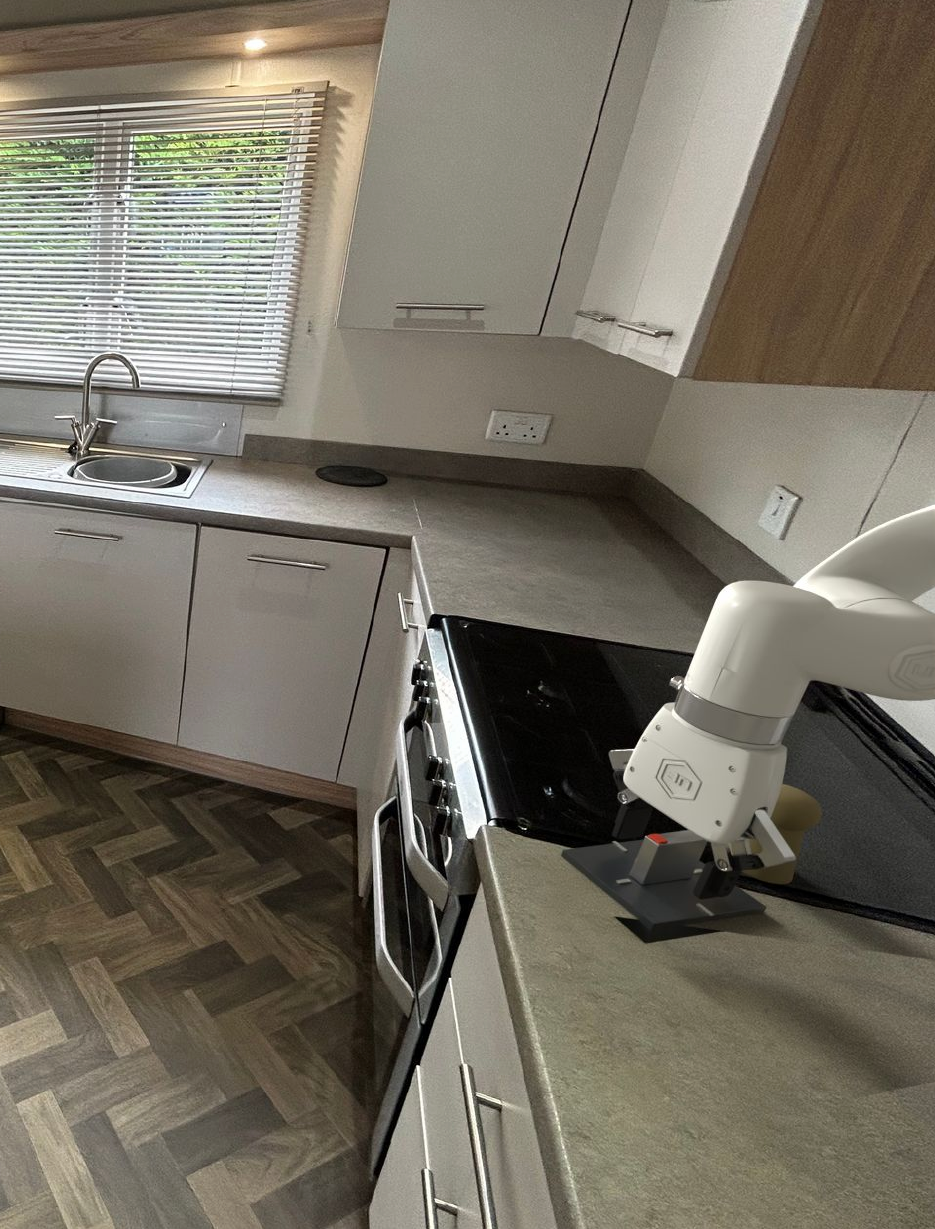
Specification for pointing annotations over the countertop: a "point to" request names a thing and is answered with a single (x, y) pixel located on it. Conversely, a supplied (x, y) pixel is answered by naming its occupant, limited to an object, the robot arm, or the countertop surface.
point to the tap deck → (656, 894)
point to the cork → (787, 831)
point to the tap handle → (668, 857)
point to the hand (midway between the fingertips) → (665, 863)
